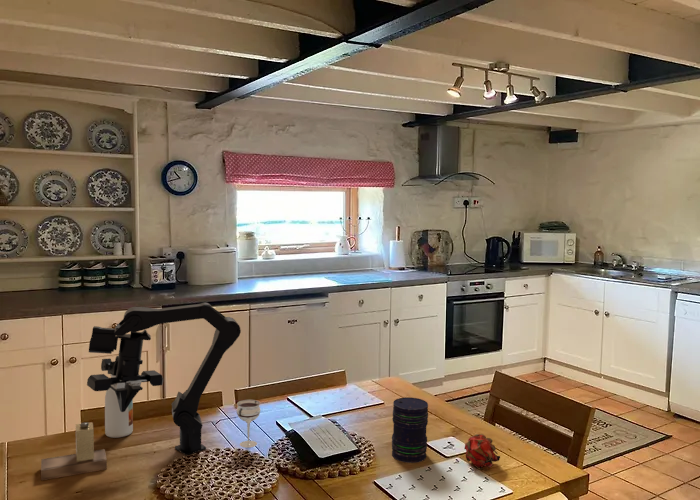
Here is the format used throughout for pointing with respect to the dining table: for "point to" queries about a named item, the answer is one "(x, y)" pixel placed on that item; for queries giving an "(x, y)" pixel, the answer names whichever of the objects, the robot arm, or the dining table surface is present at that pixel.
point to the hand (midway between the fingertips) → (122, 411)
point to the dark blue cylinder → (409, 429)
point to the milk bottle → (117, 416)
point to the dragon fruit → (481, 451)
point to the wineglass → (248, 417)
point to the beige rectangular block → (84, 441)
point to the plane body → (71, 465)
